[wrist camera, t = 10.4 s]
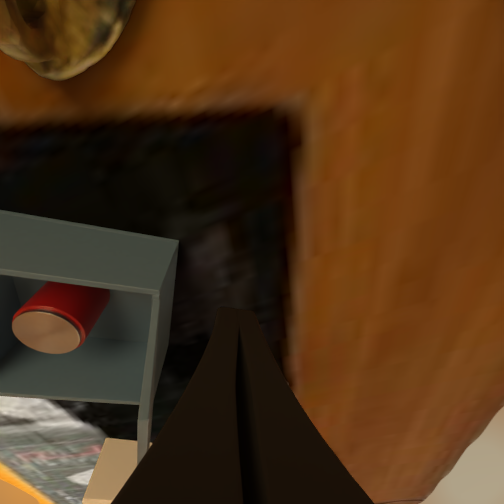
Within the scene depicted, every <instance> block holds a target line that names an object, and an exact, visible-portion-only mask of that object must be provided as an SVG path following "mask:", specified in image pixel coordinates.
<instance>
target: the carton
mask: <svg viewBox="0 0 504 504" xmlns="http://www.w3.org/2000/svg"><path fill="white" fill-rule="evenodd" d="M178 246H179V240H174V239H168V238H162V237H156V236H150V235H145V234H139V233H133V232H127V231H121V230H115V229H109V228H104V227H98V226H92V225H86V224H80V223H74V222H68V221H63V220H57V219H51V218H45V217H39V216H33V215H27V214H22V213H16V212H10V211H4V210H0V396H9V397H25V398H41V399H56V400H72V401H88V402H103V403H119V404H134V405H140V399H141V391H142V384H143V376H144V368H145V360H146V352H147V345H148V337H149V329H150V321H151V313H152V306H153V300H160V309H159V324H158V339H157V353H156V368H155V382H154V396H155V393H156V389H157V385H158V381H159V378H160V374H161V370H162V367H163V363H164V359H165V355H166V352H167V348H168V344H169V335H170V325H171V315H172V305H173V296H174V286H175V276H176V266H177V256H178ZM47 281H52V282H60V283H67V284H75V285H82V286H90V287H97V288H105V289H109V290H110V300H109V302H108V304H107V305H106V307H105V309H104V310H103V312H102V314H101V315H100V317H99V318H98V320H97V322H96V323H95V325H94V327H93V328H92V330H91V331H90V333H89V335H88V336H87V338H86V339H85V341H84V343H83V344H82V345H81V346H79V347H78V348H76V349H74V350H72V351H70V352H67V353H62V354H50V353H44V352H40V351H37V350H34V349H32V348H30V347H28V346H26V345H25V344H23V343H22V342H21V341H20V340H19V339H18V338H17V337H16V336H15V334H14V333H13V330H12V320H13V316H14V314H15V313H16V312H17V311H18V310H19V309H20V308H21V307H22V306H23V305H24V304H25V303H26V302H27V301H28V300H29V299H30V298H31V297H32V296H33V295H34V294H35V293H36V292H37V291H38V290H39V289H40V288H41V287H42V286H43V285H44V284H45V283H46V282H47ZM153 400H154V397H153Z"/></svg>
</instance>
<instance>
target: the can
mask: <svg viewBox="0 0 504 504" xmlns="http://www.w3.org/2000/svg"><path fill="white" fill-rule="evenodd" d="M109 300H110V290H109V289H105V288H97V287H90V286H82V285H75V284H67V283H60V282H52V281H47V282H46V283H45V284H44V285H43V286H42V287H41V288H40V289H39V290H38V291H37V292H36V293H35V294H34V295H33V296H32V297H31V298H30V299H29V300H28V301H27V302H26V303H25V304H24V305H23V306H22V307H21V308H20V309H19V310H18V311H17V312H16V313H15V314H14V316H13V320H12V330H13V333H14V334H15V336H16V337H17V338H18V339H19V340H20V341H21V342H22V343H23V344H25V345H26V346H28V347H30V348H32V349H34V350H37V351H40V352H44V353H50V354H62V353H67V352H70V351H72V350H74V349H76V348H78V347H79V346H81V345H82V344H83V343H84V341H85V339H86V338H87V336H88V335H89V333H90V331H91V330H92V328H93V327H94V325H95V323H96V322H97V320H98V318H99V317H100V315H101V314H102V312H103V310H104V309H105V307H106V305H107V304H108V302H109Z"/></svg>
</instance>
